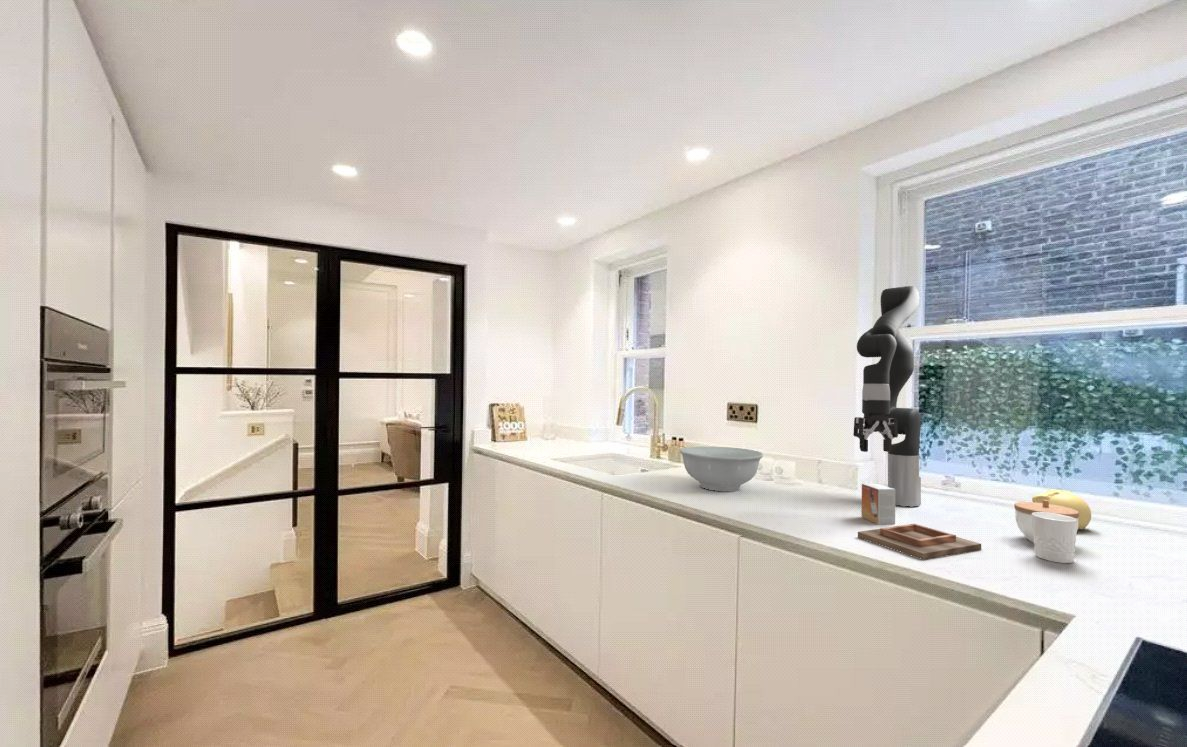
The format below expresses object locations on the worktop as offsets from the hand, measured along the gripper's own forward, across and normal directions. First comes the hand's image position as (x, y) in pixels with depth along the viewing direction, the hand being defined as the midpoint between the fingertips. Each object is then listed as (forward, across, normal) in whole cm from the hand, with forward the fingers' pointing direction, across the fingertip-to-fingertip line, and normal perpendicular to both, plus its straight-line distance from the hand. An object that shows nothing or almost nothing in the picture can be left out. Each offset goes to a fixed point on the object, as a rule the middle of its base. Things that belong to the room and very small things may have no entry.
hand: (875, 451), depth 151 cm
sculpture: (+20, -48, +18) cm, 55 cm away
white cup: (+21, -15, +38) cm, 46 cm away
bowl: (+21, +23, -52) cm, 61 cm away
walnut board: (+21, +7, +21) cm, 31 cm away
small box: (+21, 0, +1) cm, 21 cm away
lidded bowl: (+21, -27, +28) cm, 44 cm away
